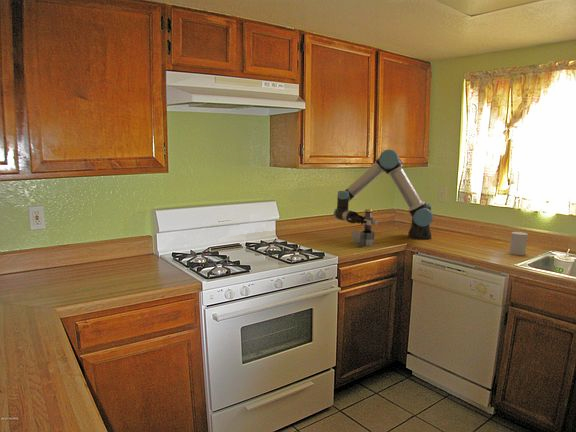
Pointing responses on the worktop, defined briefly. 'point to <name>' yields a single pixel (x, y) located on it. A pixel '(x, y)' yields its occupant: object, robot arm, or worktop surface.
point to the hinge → (363, 238)
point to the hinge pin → (368, 217)
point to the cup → (518, 243)
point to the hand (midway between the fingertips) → (373, 222)
